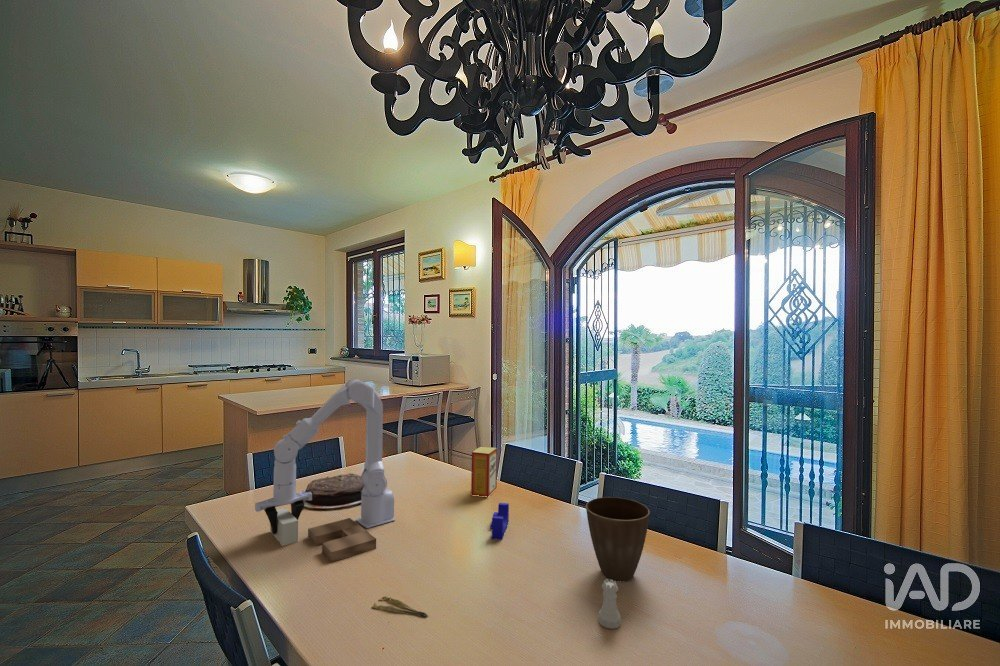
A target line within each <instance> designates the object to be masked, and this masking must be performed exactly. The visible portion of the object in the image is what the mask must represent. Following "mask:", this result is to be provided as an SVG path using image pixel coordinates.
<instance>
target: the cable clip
mask: <svg viewBox="0 0 1000 666" xmlns="http://www.w3.org/2000/svg"><path fill="white" fill-rule="evenodd" d="M509 510H510V503H506V502H499V503H498V507H497V511H493V513H492V514H493V515H492V517H491V523H490V530H491V529H492V530H491V539H492V540H503V539H504V536H505V534H504V533H506V531H507V527H508V526H507V525H509V523H508V522H509V521H510V516H509V512H510V511H509Z"/></svg>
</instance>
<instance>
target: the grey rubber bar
mask: <svg viewBox="0 0 1000 666" xmlns="http://www.w3.org/2000/svg"><path fill="white" fill-rule="evenodd" d="M276 511H277V512H278V514H277V522H276V525H277V533H276V534H274V535H273V533H272V529H271V525H270V526H269V529H270V530H269V532H270V531H271V532H270V533H271V534H272V535H273V537H274V536H275V537H274V538H275V539H276V541H277V542H278V541H279V542H280V543H279V542H278V543H279V544H280V546H282V547H285V546H288V544H289V545H292V544H295V542H296V543H299V519H298V520H297V519H296V518H295V517H294V516H293V515H292V514H291V512H290V510H288V509H287V508H286V507H283V508H279V509H276ZM291 543H292V544H291ZM284 545H285V546H284Z"/></svg>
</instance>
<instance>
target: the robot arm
mask: <svg viewBox="0 0 1000 666" xmlns="http://www.w3.org/2000/svg"><path fill="white" fill-rule="evenodd" d="M351 401H352V402H355V403H356V404H358V405H360V406H362V407H363V408H364V409H365V410H366V411H365V414H366V415H365V416H366V419H365V462H364V464H363V471H362V473H361V475H360V476H361V481H362V483H363V485H364V488H363V490H362V491H361V504H360V517H357V518H355V522H356V523H359V524H361V525H360V526H363V528H365V529H369V528H373V527H376V526H380V525H384V524H387V523H390V522H394V521H396V518H395V497H394V496H395V495H394V493H393V491H392V489H390V488H387V487H388V480H387V478H386V476H385V468H384V463H383V434H384V433H383V431H384V429H383V423H384V422H383V420H384V419H383V418H384V417H383V415H384V413H383V412H384V405H383V402H382V400H381V398H380V397H379V395H378V394H377V392H376V391H375V389H374V388H373V387H372V386H371V385H369V383H366V382H365V381H363V380H361V379H358V378H352V379H350V380H348V381H347V382H346V383H345V385H342V386H341V387H340V388H339V389H337V390H336V392H334V393H333V394H332V395H331V396H330V397H329V398H328V400H326V401H325V403H323V404H322V406H320V408H318V410H317V411H316V412H314V414H313V415H312V416H311V417H309V418H308V417H305V418H304V417H303V419H302V420H300V419H299V420H297V421H296V422H295V425H296V426H294V427H293V428H292V429H291V430H290V431H289V432H288V433H287V434H285V433H284V435H283V436H282V438H283V439H279V440H278V441H277V442H276V443H275V445H274V448H273V454H274V461H273V462H274V464H273V465H274V467H273V488H272V489H273V490H272V491H273V493H272V494H273V495H272V496H273V497H270V498H268V499H265V500H262V501H258V502H255V503H254V510H255V512H256V513H257V512H258V513H259V512H261V511H264V513H265V514H266V516H267V518H268V521H269V524H270V525H271V529H272V533H273V534H272V533H271V534H272V535H273V536H274V534H276V533H277V525H276V522H277V514H278V512H277V511H276V510H277V507H281V506H282V507H283V506H286V505H290V511H291V512H290V513H291V514H292V515H293V516H294V517H295V518H296V519H297V520H298V521H299V519H300V515H301V513H302V511H303V510H304V508H305V507H304V505H305V504H304V503H303V501H306V500H308V501H309V500H312V493H311V492H305V493H300V492H297V463H296V458H297V456H298V453H299V450H301V449H303V448H304V447H305V446H306V445H307V444H308V443H309V442H310V441H311V440H312V439H313V438H314V437H315V436H316V435H317V434H318V433H319V431H320V430H319V429H320V425H321V424H322V423H323V422H324V421H326V419H327V418H329V417H330V416H331V415H332V414H333V413H334V412H335V411H336V410H338V409H339V408H340V407H341V406H348V405H351V404H352V403H351Z"/></svg>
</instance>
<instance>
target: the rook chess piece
mask: <svg viewBox="0 0 1000 666" xmlns="http://www.w3.org/2000/svg"><path fill="white" fill-rule="evenodd" d="M601 589H602V591H603V592H602V596H603V601H602V606H601V607H600V610H599V612H598V617H597V619H598V622H599V624H600V625H601V626H602V627H603V628H606V629H608V628H609V630H614V629H615V628H616V629H617V627H618V628H620V626H621V624H622V620H621V619H622V617H621V613H620V612H619V609H618V606H617V598H618V595H617V592H618V591H619V587H618V584H617V581H613V580H611V579H608V578H606V579H604V580H603V583H602V585H601Z"/></svg>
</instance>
